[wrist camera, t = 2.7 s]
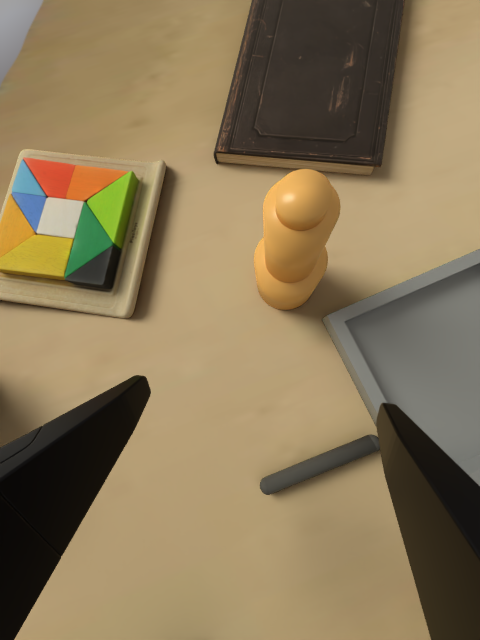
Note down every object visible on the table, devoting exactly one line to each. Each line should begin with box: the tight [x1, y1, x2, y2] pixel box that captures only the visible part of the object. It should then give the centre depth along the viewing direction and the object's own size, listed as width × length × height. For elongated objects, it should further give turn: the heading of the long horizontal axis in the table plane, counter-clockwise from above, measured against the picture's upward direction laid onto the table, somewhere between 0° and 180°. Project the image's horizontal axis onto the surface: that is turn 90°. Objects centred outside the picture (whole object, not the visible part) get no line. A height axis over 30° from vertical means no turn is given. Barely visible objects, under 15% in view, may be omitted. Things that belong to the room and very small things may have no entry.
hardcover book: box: [214, 0, 405, 175], centre depth 26 cm, size 16×23×2 cm
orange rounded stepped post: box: [254, 169, 340, 310], centre depth 17 cm, size 5×5×12 cm
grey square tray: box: [322, 249, 480, 486], centre depth 19 cm, size 15×15×2 cm
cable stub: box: [260, 435, 380, 495], centre depth 19 cm, size 1×10×1 cm, turn 113°
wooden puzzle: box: [0, 149, 166, 318], centre depth 26 cm, size 18×19×4 cm
